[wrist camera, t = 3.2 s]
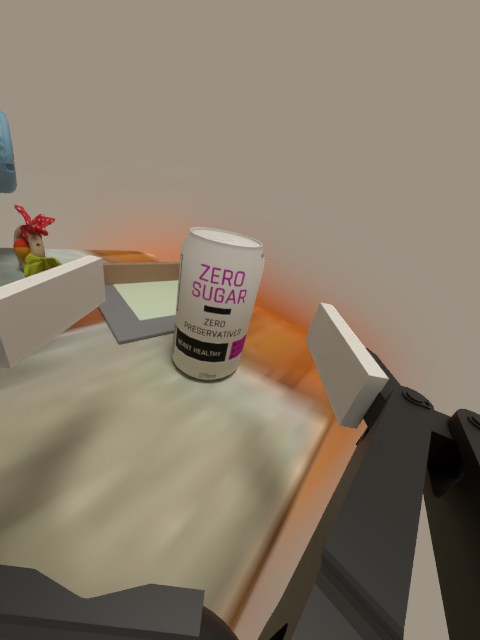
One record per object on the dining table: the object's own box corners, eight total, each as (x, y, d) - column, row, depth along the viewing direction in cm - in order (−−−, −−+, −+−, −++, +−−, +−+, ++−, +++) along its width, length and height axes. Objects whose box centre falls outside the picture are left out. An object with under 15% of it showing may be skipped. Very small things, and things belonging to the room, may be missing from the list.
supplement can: (218, 337, 34) (239, 230, 27) (250, 373, 29) (286, 251, 22) (162, 346, 30) (170, 222, 23) (187, 392, 24) (207, 245, 17)
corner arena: (86, 286, 39) (83, 263, 38) (183, 279, 51) (184, 261, 49) (119, 344, 28) (117, 315, 27) (233, 319, 40) (238, 298, 38)
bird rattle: (7, 286, 38) (34, 282, 34) (-27, 213, 35) (-2, 198, 31) (50, 279, 44) (77, 274, 39) (23, 214, 40) (50, 202, 36)
